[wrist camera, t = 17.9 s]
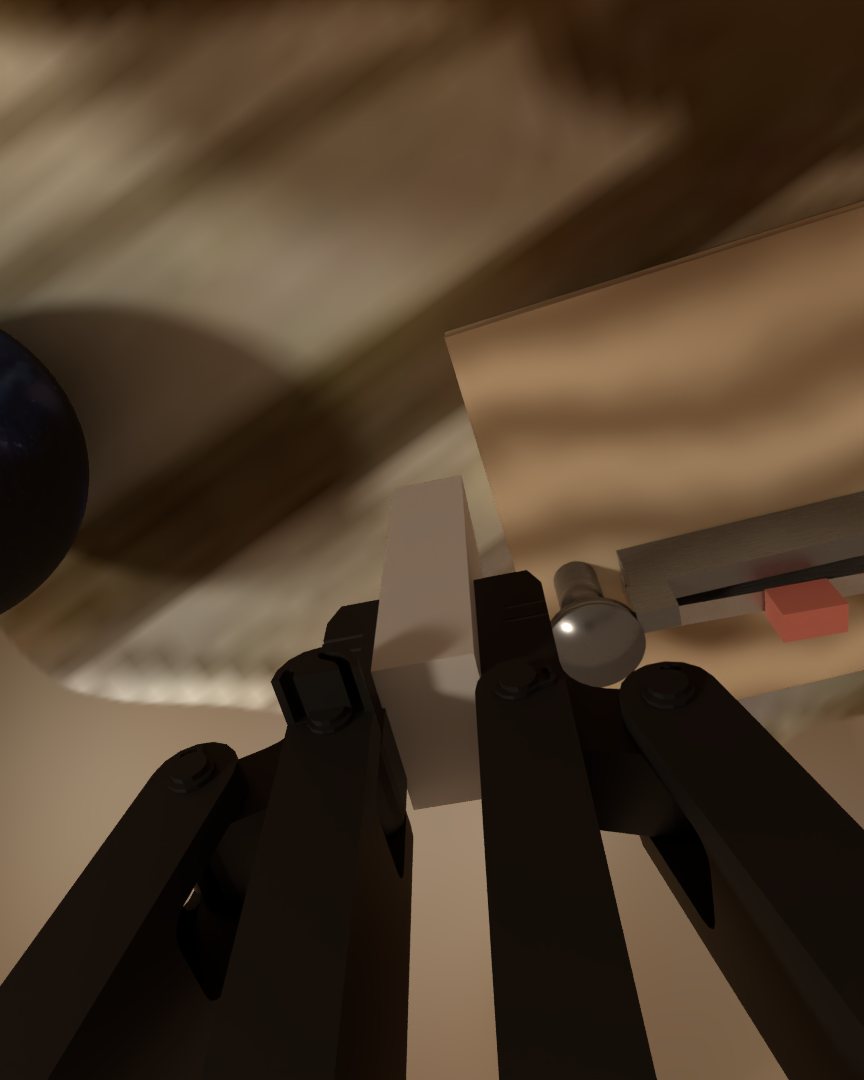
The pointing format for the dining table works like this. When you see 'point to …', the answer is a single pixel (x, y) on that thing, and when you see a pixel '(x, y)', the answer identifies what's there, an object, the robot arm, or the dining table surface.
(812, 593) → the tab
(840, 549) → the grey lever with knob
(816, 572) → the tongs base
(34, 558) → the decorative sphere
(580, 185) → the dining table surface
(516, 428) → the board
